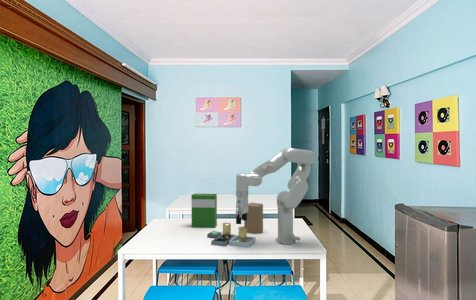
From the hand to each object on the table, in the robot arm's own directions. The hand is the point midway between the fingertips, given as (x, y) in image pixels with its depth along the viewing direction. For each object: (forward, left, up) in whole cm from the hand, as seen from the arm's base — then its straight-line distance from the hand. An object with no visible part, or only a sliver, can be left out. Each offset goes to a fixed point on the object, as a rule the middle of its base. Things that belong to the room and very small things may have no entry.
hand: (241, 222), depth 189 cm
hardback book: (+41, -31, -14) cm, 54 cm away
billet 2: (-1, 0, -13) cm, 13 cm away
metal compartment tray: (+11, 0, -14) cm, 18 cm away
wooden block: (+1, -28, -14) cm, 31 cm away
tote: (-1, 0, -14) cm, 14 cm away
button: (+21, -7, -13) cm, 26 cm away
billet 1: (+11, -4, -13) cm, 18 cm away
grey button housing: (+21, -7, -14) cm, 26 cm away
